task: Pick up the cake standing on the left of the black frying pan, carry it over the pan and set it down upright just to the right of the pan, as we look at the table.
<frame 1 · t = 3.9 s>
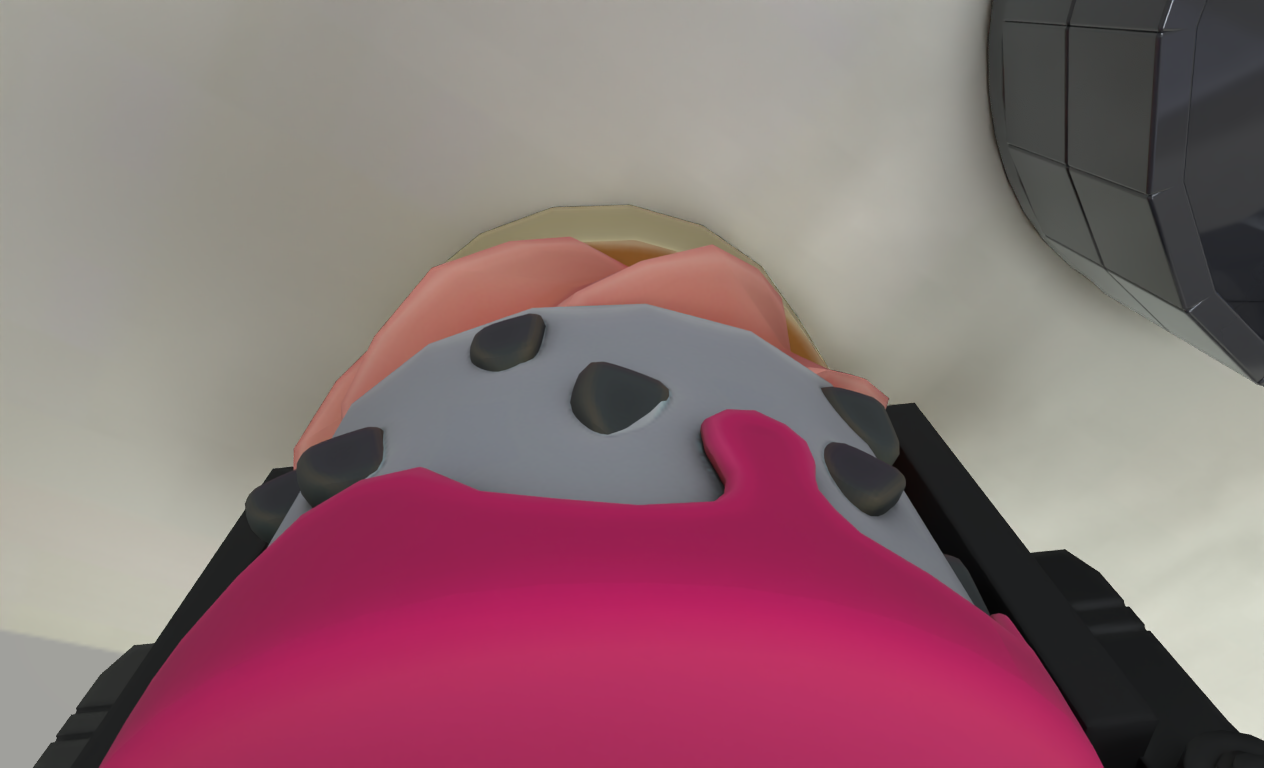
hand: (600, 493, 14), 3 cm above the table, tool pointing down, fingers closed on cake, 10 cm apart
cake: (601, 409, 16), on the table, touching gripper
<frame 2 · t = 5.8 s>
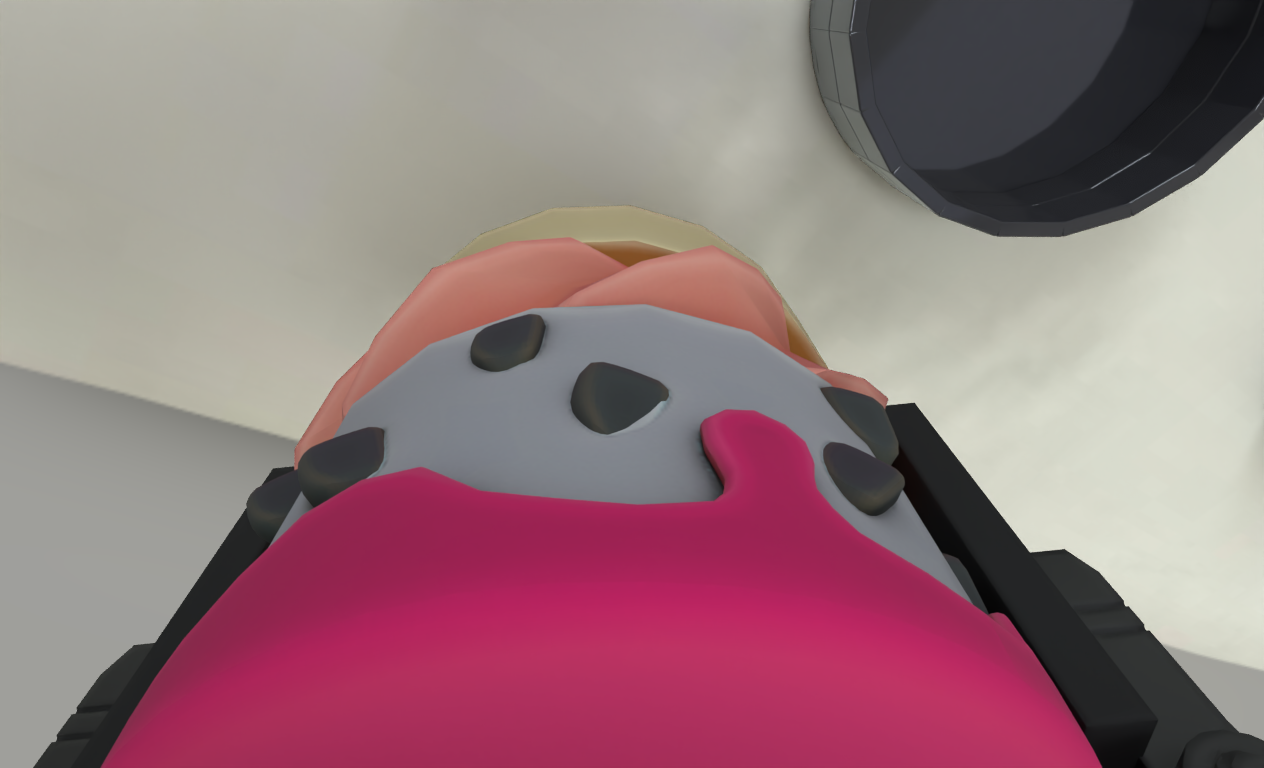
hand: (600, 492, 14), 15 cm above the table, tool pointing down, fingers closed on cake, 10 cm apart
cake: (601, 409, 16), point 11 cm above the table, touching gripper
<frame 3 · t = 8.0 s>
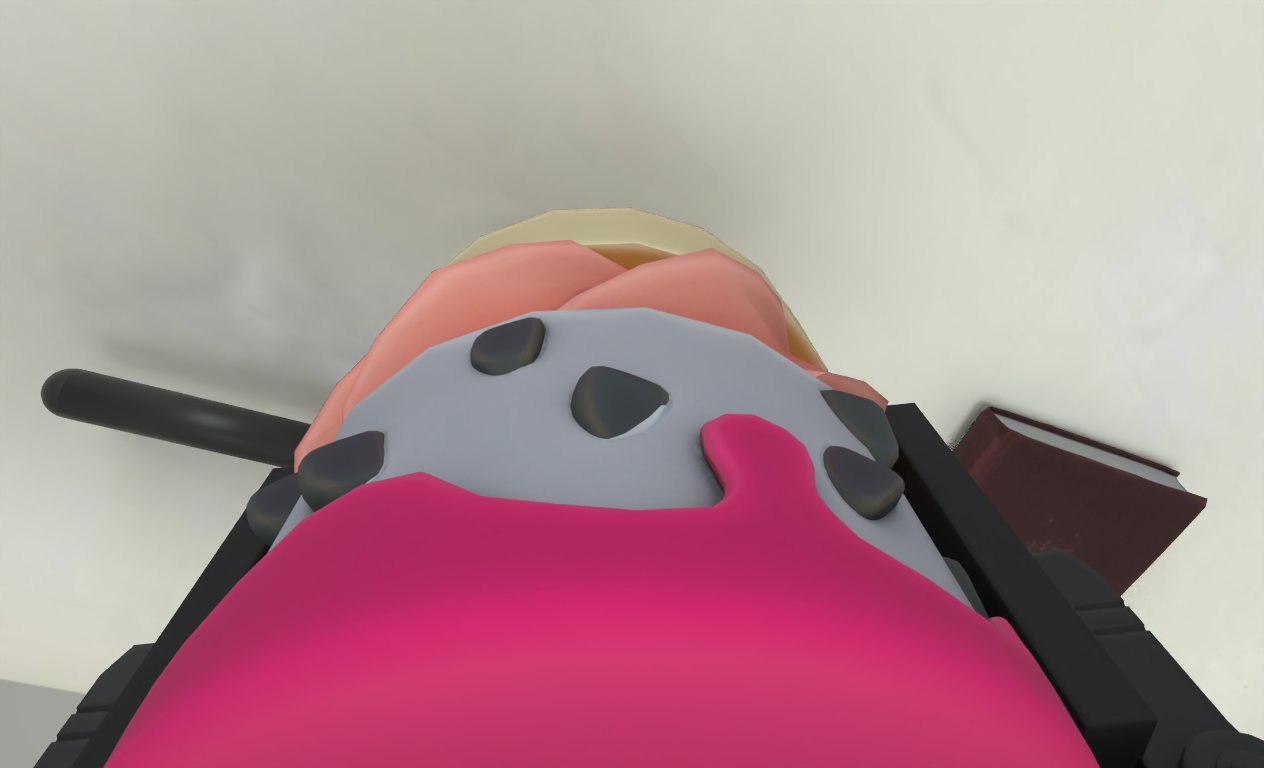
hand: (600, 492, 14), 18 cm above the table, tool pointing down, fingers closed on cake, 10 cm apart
book: (969, 565, 40), on the table
pan handle: (222, 428, 29), point 3 cm above the table
cake: (601, 411, 16), point 15 cm above the table, touching gripper
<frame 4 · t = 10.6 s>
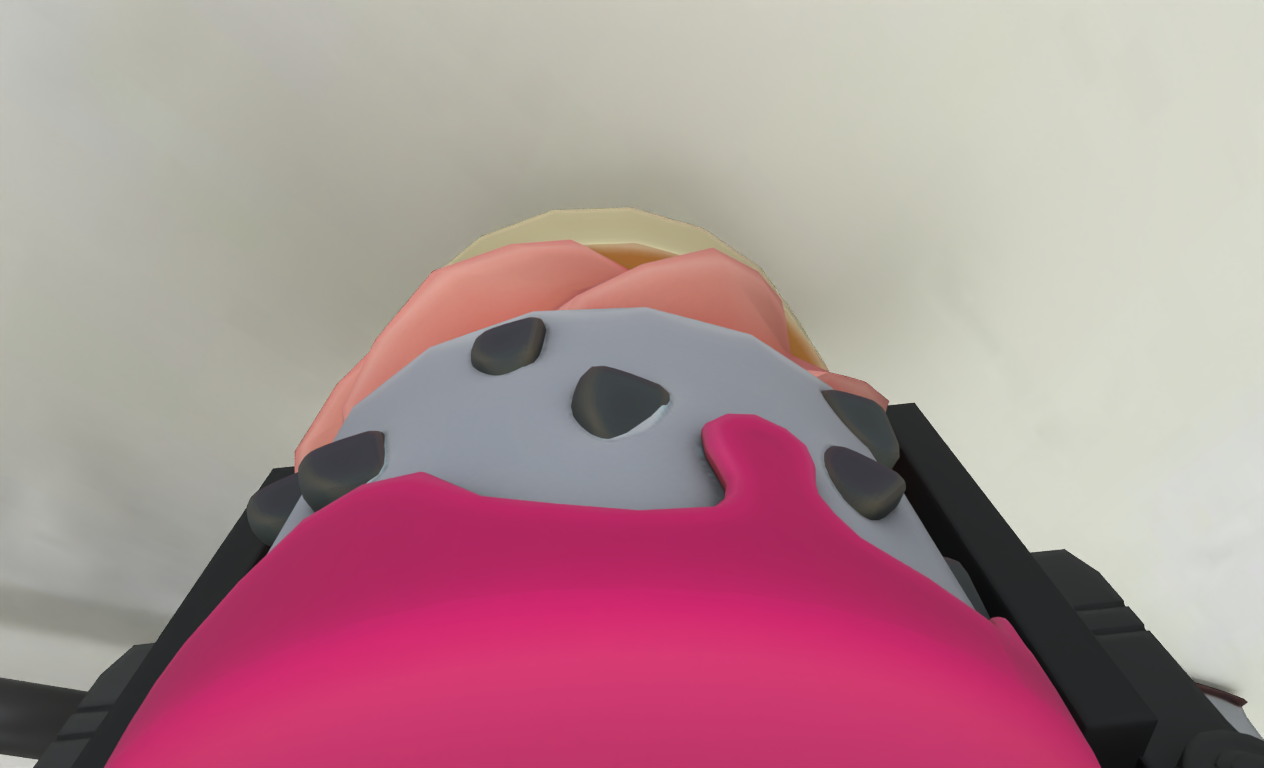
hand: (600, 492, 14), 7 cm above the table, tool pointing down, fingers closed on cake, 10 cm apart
cake: (602, 411, 16), point 4 cm above the table, touching gripper
when the fingers open (3 cm above the table, at t = 12.3 s): cake stays where it is, on the table.
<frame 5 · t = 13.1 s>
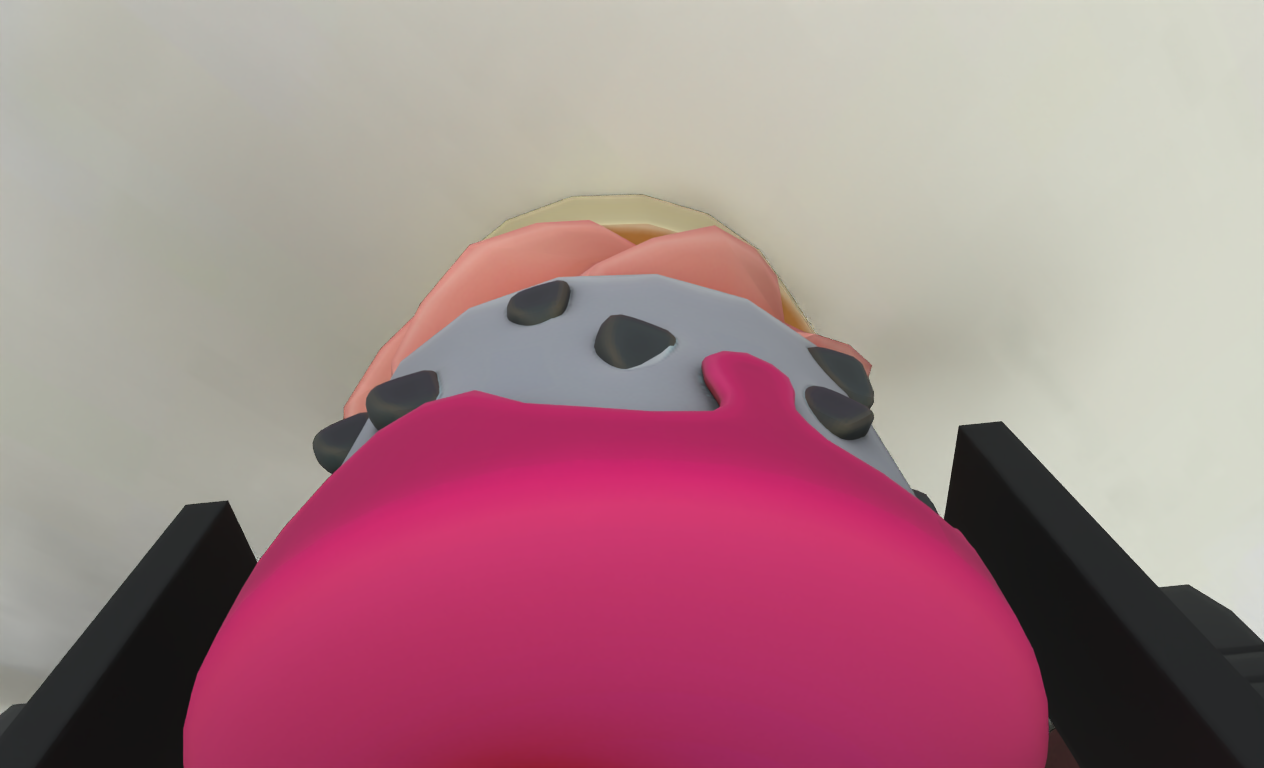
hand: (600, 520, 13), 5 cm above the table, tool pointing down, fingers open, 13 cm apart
cake: (614, 383, 18), on the table
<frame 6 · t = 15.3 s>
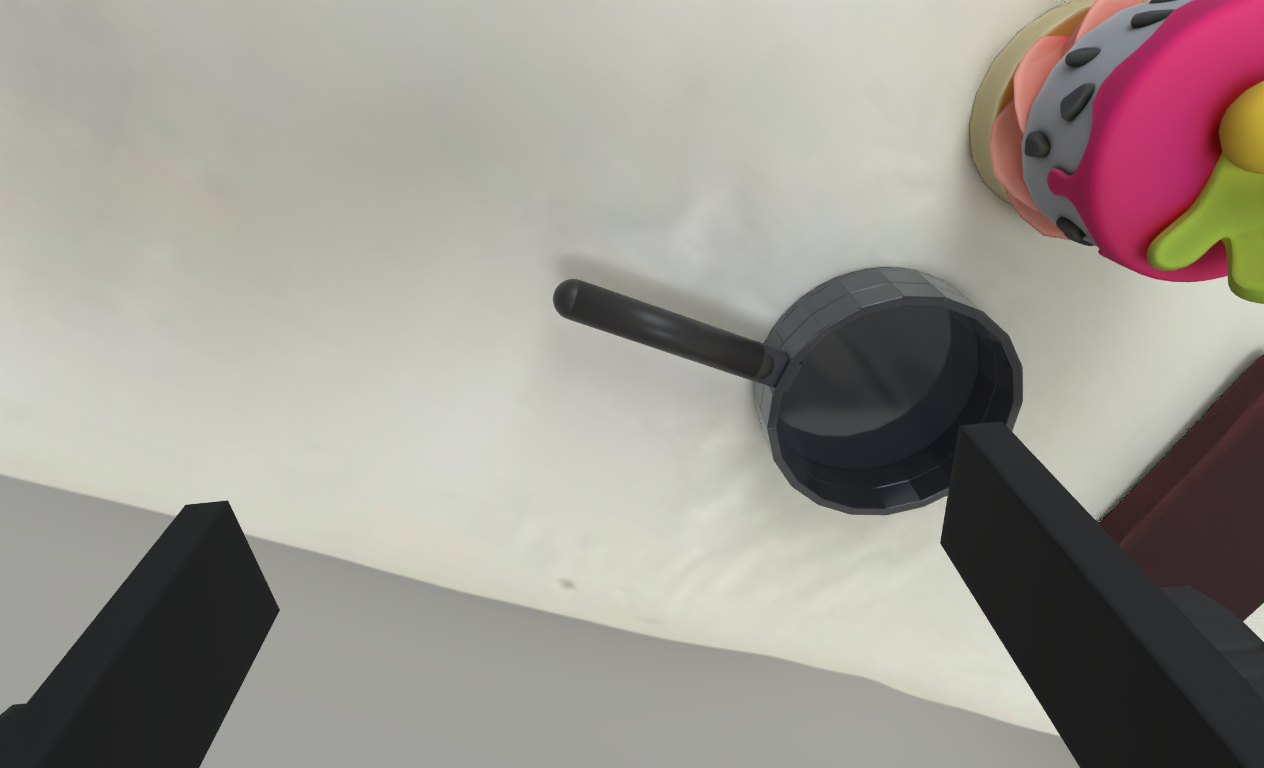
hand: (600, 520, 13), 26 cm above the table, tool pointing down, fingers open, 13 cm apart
pan: (867, 376, 41), on the table
book: (1207, 499, 47), on the table
pan handle: (678, 335, 36), point 3 cm above the table
cake: (1067, 109, 35), on the table
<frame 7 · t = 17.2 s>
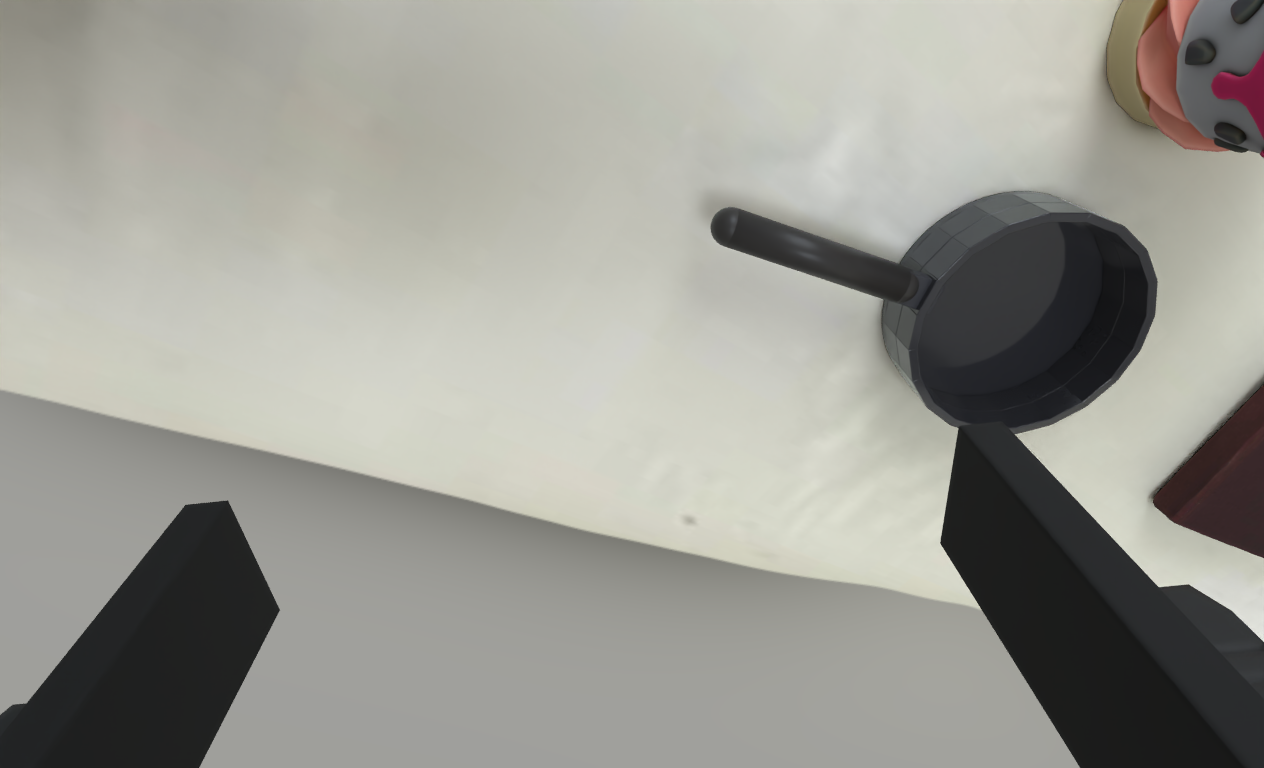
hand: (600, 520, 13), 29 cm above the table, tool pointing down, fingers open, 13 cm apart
pan: (991, 301, 43), on the table
pan handle: (827, 260, 37), point 3 cm above the table
cake: (1201, 27, 36), on the table
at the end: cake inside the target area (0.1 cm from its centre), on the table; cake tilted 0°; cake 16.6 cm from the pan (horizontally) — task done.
